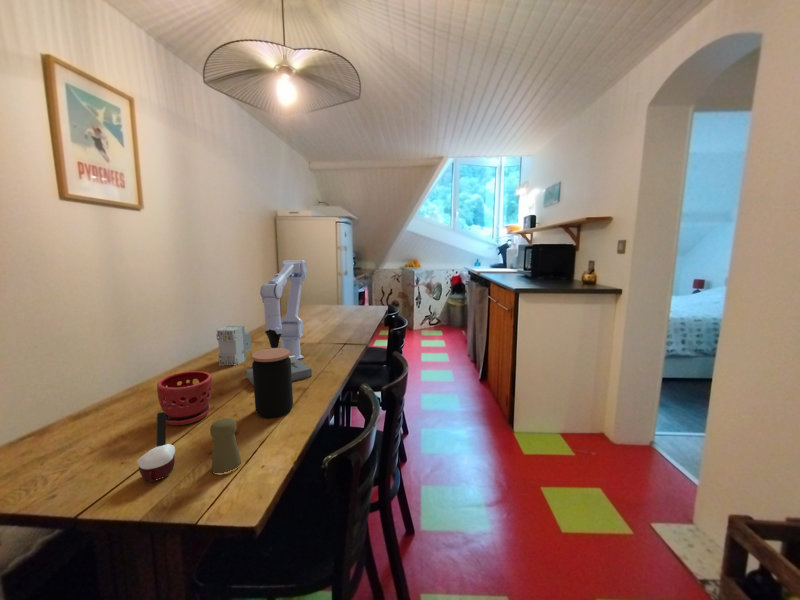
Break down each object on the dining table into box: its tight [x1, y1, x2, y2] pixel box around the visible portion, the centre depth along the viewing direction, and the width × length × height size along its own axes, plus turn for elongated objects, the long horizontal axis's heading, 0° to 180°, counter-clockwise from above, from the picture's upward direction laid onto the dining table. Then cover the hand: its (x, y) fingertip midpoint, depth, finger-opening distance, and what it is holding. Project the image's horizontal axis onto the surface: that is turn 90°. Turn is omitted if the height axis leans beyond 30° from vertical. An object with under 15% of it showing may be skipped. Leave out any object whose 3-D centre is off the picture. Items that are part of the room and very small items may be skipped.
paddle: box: [289, 356, 296, 363], centre depth 133 cm, size 2×3×2 cm, turn 128°
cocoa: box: [137, 411, 176, 483], centre depth 72 cm, size 10×6×12 cm, turn 174°
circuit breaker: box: [215, 325, 252, 366], centre depth 146 cm, size 8×14×15 cm, turn 174°
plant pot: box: [156, 370, 213, 426], centre depth 96 cm, size 13×13×12 cm
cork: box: [209, 417, 242, 473], centre depth 75 cm, size 6×6×11 cm
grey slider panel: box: [245, 359, 313, 387], centre depth 127 cm, size 14×20×3 cm
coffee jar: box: [251, 347, 294, 419], centre depth 100 cm, size 11×11×18 cm
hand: (274, 348), depth 132 cm, fingers closed
